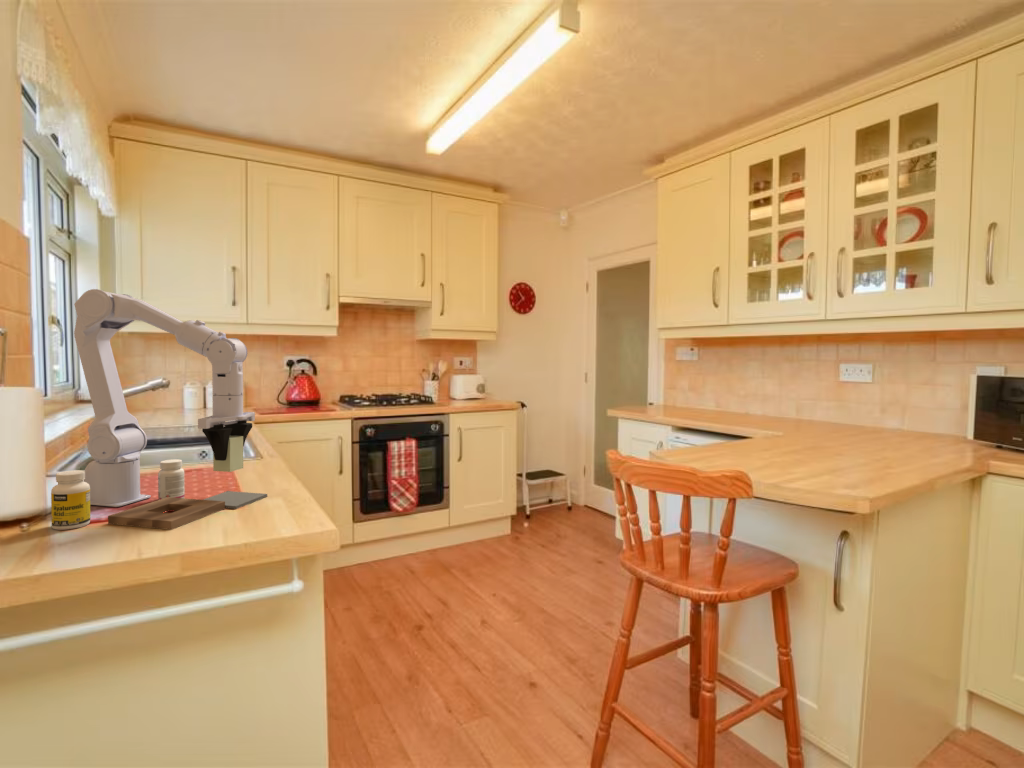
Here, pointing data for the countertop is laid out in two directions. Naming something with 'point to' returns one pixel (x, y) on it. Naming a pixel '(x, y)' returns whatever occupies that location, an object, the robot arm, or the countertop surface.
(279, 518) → the countertop surface
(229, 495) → the charcoal mat
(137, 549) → the countertop surface
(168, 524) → the walnut holder
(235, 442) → the sage block
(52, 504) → the supplement bottle
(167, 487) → the pill bottle
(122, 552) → the countertop surface
